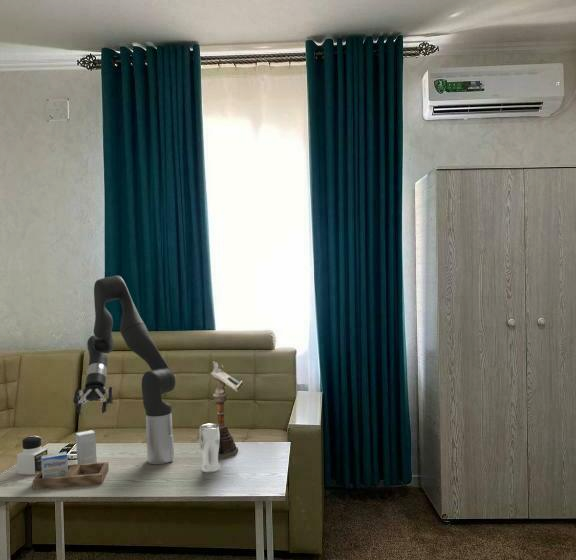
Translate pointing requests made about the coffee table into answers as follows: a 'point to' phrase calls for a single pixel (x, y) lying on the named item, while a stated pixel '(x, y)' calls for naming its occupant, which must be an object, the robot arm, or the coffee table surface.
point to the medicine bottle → (31, 456)
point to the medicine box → (54, 465)
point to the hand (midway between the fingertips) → (91, 413)
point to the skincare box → (86, 447)
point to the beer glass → (210, 447)
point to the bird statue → (226, 440)
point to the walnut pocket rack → (74, 476)
